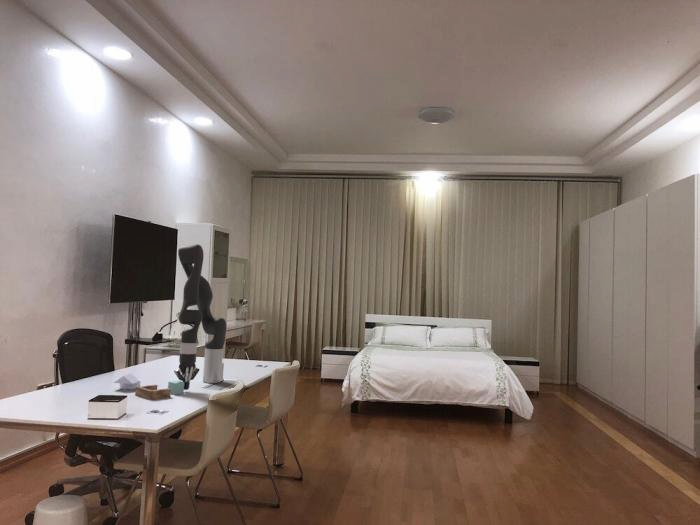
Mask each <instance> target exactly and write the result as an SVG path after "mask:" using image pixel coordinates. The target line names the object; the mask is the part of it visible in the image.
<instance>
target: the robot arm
mask: <svg viewBox="0 0 700 525" xmlns="http://www.w3.org/2000/svg"><path fill="white" fill-rule="evenodd" d="M177 253H178V255H177V256H178V259H179V262H180V264H181V267H182V270H183V271H184V273H185V276H186V278H187V279H186V281H185V284H184V287H183V298H182V299H183V300H182V306H181V309H180V312H179V315H178V322H179V323H180V324H181V325H186V326H187V325H189V326H190V325H191V326H192V325H193V326H192V327H191V328H188V329H183V330H182V331H181V337H180V338H181V340H180V341H181V342H180V346H179V360H178V361H179V364H178V368H177V369H174V372H173V373H174V374H175V375H176V377H177V379H178V381H181V382H184V391H186V390H189V389H190V383H191V381H193V380H194V379H195V378H196V376H197V374H198V373H199V372H200V368H198V367H196V366H197V365H196V363H197V349H198V348H197V346H198V345H197V342H198V341H197V340H198V334H199V328H200V325H201V326H202V330H203V332H204V333H205V334H207V335H209V336H210V335H211V336H213V337H212V339H211V340H209V341H207V342H206V343H205V344H204V358H203V361H204V363H203V375H202V382H203V383H207V384H208V383H209V384H217V383H221V381H222V382H224V381H223V380H224V379H223V378H224V366H225V365H224V364H225V363H224V362H223V361H224V360H223V357H224V346H225V343H226V335H227V322H226V319H224V318H222V317H215V316H213V314H212V312H211V304H212V301H213V298H214V295H213V291H212V288H211V285H210V283H209V281H208V280H207V279H206V278H205V277H204V276H202V271H203V270H202V269H203V264H204V257H205V256H204V254H205V253H204V249H203V247H202V246H201V245H200V244H197V243H196V244H190V245H189V244H188V245H183V246H180V247H178V250H177ZM193 306H197V309H188V308H190V307H193Z"/></svg>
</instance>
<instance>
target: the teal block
mask: <svg viewBox="0 0 700 525" xmlns="http://www.w3.org/2000/svg"><path fill="white" fill-rule="evenodd" d="M167 388H169V389H171V393H170V395H182V394H184V391H185V390H184V382H183V381H181V380H173V381H172V380H171V381H168V385H167Z"/></svg>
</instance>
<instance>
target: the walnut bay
mask: <svg viewBox="0 0 700 525" xmlns="http://www.w3.org/2000/svg"><path fill="white" fill-rule="evenodd" d="M134 390H135V393H134V395H135V396H137V397H140V398H144V399H147V400H150V401H151V400H152V401H153V400H159V399H165V398H171V394H170V393H171V389H169V388H168V387H167V388H160V389H158V384H148V385H140V386H139V387H136V389H134Z"/></svg>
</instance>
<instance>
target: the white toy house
mask: <svg viewBox="0 0 700 525" xmlns="http://www.w3.org/2000/svg"><path fill="white" fill-rule="evenodd" d="M113 384H119V389H123V390H136V387H139V386H141V379H140V378H137V377H136V376H135V375H134V374H133V373H131V372H130V373H128V374H125V375H122V377H119V379H117V380H116V381H114V382H113Z"/></svg>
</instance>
